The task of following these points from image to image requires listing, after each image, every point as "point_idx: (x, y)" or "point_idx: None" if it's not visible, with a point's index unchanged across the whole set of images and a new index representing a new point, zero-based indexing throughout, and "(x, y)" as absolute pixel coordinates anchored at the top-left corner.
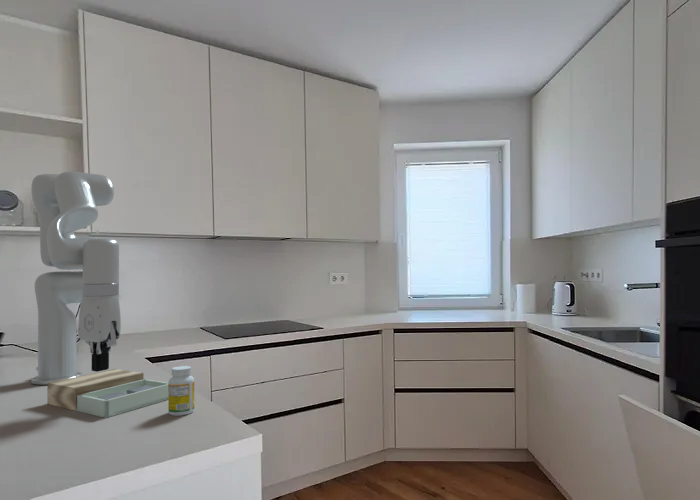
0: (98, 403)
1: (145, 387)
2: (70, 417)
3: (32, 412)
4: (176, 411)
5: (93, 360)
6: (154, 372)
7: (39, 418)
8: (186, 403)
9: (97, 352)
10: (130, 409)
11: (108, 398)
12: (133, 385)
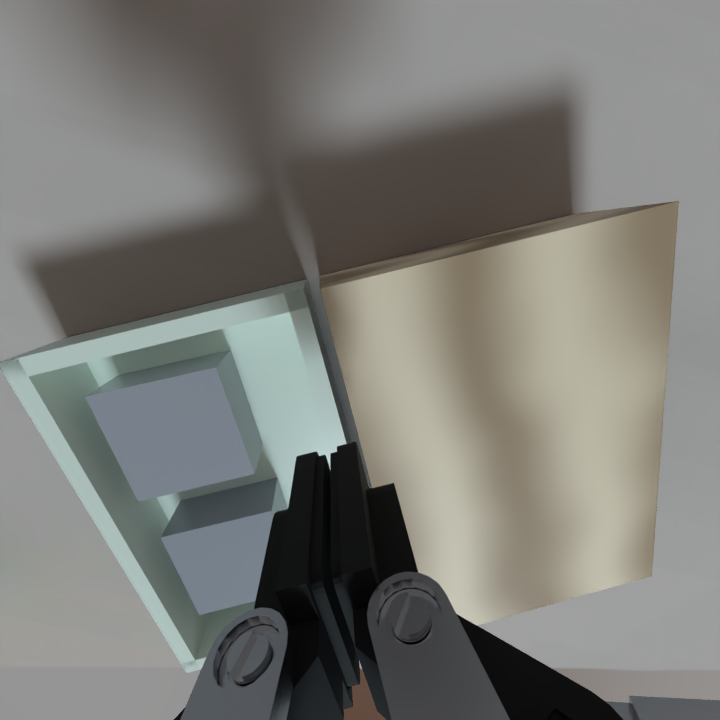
0: (89, 338)
1: (250, 578)
2: (208, 221)
3: (475, 106)
4: None
5: (340, 512)
6: (668, 652)
7: (315, 95)
8: None
9: (260, 637)
10: None
11: (132, 401)
12: None
